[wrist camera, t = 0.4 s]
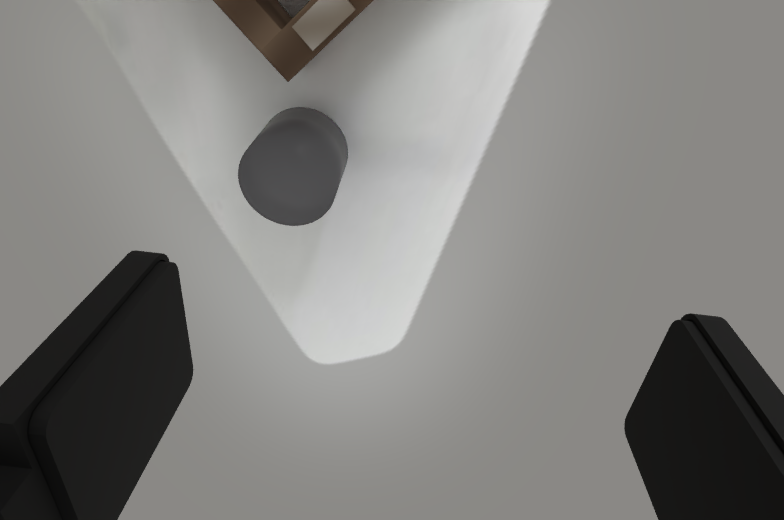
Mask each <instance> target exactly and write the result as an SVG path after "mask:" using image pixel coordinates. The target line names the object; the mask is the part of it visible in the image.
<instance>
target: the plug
mask: <svg viewBox="0 0 784 520" xmlns="http://www.w3.org/2000/svg"><path fill="white" fill-rule="evenodd" d="M347 159H348V148H347V143H346V140H345V137H344V135H343V133H342V131H341V130H340V128H339V127H338V126H337V124H336V123H335V122H334V121H333V120H332V119H330V118H329V117H328V116H326V115H325V114H323V113H321V112H319V111H317V110H314V109H310V108H304V107H296V108H290V109H286V110H284V111H282V112H280V113H278V114H277V115H275V116H274V117H273V118H272V119H271V120H270V121H269V123H268V124H267V125H266V126H265V128H264V129H263V130H262V131H261V133H260V134H259V135H258V136H257V138H256V139H255V140H254V141H253V143H252V144H251V145H250V146H249V148H248V149H247V150H246V152H245V153H244V155H243V156H242V159H241V161H240V164H239V170H238V179H239V184H240V188H241V190H242V193H243V195H244V197H245V198H246V200H247V201H248V203H249V204H250V205H251V206H252V207H253V208H254V209H255V210H256V211H257V212H258V213H259V214H261V215H262V216H264V217H265V218H267V219H269V220H271V221H273V222H276V223H279V224H283V225H290V226H298V225H305V224H309V223H312V222H314V221H316V220H318V219H319V218H321V217H322V216H323V215H324V214H325V213H326V212H327V211H328V210H329V209H330V207H331V205H332V203H333V201H334V198H335V196H336V193H337V190H338V187H339V184H340V181H341V178H342V175H343V172H344V170H345V167H346V163H347Z"/></svg>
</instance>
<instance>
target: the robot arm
mask: <svg viewBox="0 0 784 520" xmlns="http://www.w3.org/2000/svg"><path fill="white" fill-rule="evenodd" d="M192 376H193V364H192V357H191V350H190V344H189V337H188V330H187V324H186V317H185V311H184V304H183V298H182V292H181V285H180V278H179V271H178V267H177V265H176V264H175V263H172V262H169V259H168V257H167V256H166V255H165V254H161V253H152V252H144V251H131V252H130V253H128V254H127V256H126V257H125V258H124V259H123V260H122V261H121V262H120V263H119V264H118V265H117V266H116V267H115V268H114V269H113V270H112V271H111V272H110V273H109V274H108V275H107V276H106V277H105V278H104V279H103V280H102V281H101V282H100V283H99V285H98V286H97V287H96V288H95V289H94V290H93V291H92V292H91V293H90V294H89V295H88V296H87V297H86V298H85V299H84V300H83V301H82V302H81V303H80V304H79V305H78V306H77V307H76V308H75V309H74V311H73V312H72V313H71V314H70V315H69V316H68V317H67V318H66V319H65V320H64V321H63V322H62V323H61V324H60V325H59V326H58V327H57V328H56V329H55V330H54V331H53V332H52V333H51V334H50V335H49V336H48V338H47V339H46V340H45V341H44V342H43V343H42V344H41V345H40V346H39V347H38V348H37V349H36V350H35V351H34V352H33V353H32V354H31V355H30V356H29V357H28V358H27V359H26V360H25V361H24V363H22V365H21V366H20V367H19V368H18V369H17V370H16V371H15V372H14V373H13V374H12V375H11V376H10V377H9V378H8V379H7V380H6V381H5V382H4V383H3V384H2V385H1V386H0V520H117V519H118V517H119V515H120V514H121V512H122V510H123V508H124V506H125V504H126V502H127V501H128V499H129V497H130V495H131V493H132V491H133V490H134V488H135V486H136V484H137V482H138V480H139V478H140V477H141V475H142V473H143V471H144V469H145V467H146V466H147V464H148V462H149V460H150V458H151V456H152V454H153V452H154V451H155V449H156V447H157V445H158V443H159V441H160V439H161V438H162V436H163V434H164V432H165V430H166V429H167V427H168V425H169V423H170V421H171V419H172V417H173V416H174V414H175V411H176V410H177V408H178V406H179V404H180V403H181V401H182V399H183V397H184V395H185V393H186V392H187V390H188V388H189V386H190V383H191V380H192ZM625 434H626V438H627V440H628V443H629V446H630V448H631V451H632V453H633V456H634V458H635V461H636V463H637V466H638V469H639V471H640V474H641V476H642V479H643V481H644V484H645V486H646V489H647V491H648V494H649V497H650V499H651V502H652V504H653V507H654V509H655V512H656V515H657V517H658V519H659V520H784V395H783V394H782V392H781V391H780V390H779V389H778V387H777V386H776V385H775V383H774V382H773V381H772V380H771V378H770V377H769V376H768V374H767V373H766V372H765V371H764V369H763V368H762V366H760V364H759V363H758V361H757V360H756V359H755V358H754V356H753V355H752V354H751V352H750V351H749V350H748V348H747V347H746V346H745V345H744V343H743V342H742V341H741V339H740V338H739V337H738V335H737V334H736V333H735V332H734V330H733V329H732V328H731V326H730V325H729V324H728V323H727V321H726V320H724V319H723V318H721V317H716V316H707V315H698V314H686V315H685V316H683V317H682V318H681V320H676V321H674V322H673V323H672V324H671V326H670V328H669V330H668V332H667V334H666V336H665V338H664V340H663V342H662V344H661V346H660V348H659V350H658V352H657V354H656V357H655V359H654V361H653V363H652V365H651V367H650V369H649V371H648V373H647V375H646V377H645V379H644V381H643V383H642V385H641V387H640V389H639V391H638V393H637V396H636V397H635V400H634V402H633V404H632V406H631V408H630V410H629V412H628V414H627V416H626V419H625Z"/></svg>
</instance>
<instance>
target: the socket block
mask: <svg viewBox="0 0 784 520" xmlns="http://www.w3.org/2000/svg"><path fill="white" fill-rule="evenodd" d="M213 1H214V2H215V3H216V4H217V5H218V6H219V7H220V8H221V9H222V11H223V12H224V13H225V14H226V15H227V16H228V17H229V18H230V19H231V20H232V21H233V23H234V24H235V25H236V26H237V27H238V28H239V29H240V30H241V31H242V32H243V34H244V35H245V36H246V37H247V38H248V39H249V40H250V41H251V42H252V43H253V44H254V46H255V47H256V48H257V49H258V50H259V51H260V52H261V53H262V54H263V55H264V56H265V58H266V59H267V60H268V61H269V62H270V63H271V64H272V65H273V66H274V67H275V68H276V70H277V71H278V72H279V73H280V74H281V75H282V76H283V77H284V78H285V79H286V80H287V82H289V81H290V80H291V79H292V78H293V77H294V76H295V75H296V74H297V73H298V72H299V71H300V70H301V69H302V68H303V67H304V66H305V65H306V64H307V63H308V62H309V61H310V60H312V59H313V58H314V57H315V56H316V55H317V54H318V53H319V52H320V51H321V50H322V49H323V48H324V47H325V46H326V45H327V44H328V43H329V42H330V41H331V40H332V39H333V38H334V37H336V36H337V35H338V34H339V33H340V32H341V31H342V30H343V29H344V28H345V27H346V26H347V25H348V24H349V23H350V22H351V21H352V20H353V19H354V18H355V17H356V16H357V15H359V14H360V13H361V12H362V11H363V10H364V9H365V8H366V7H367V6H368V5H369V4H370V3H371V2H372V1H373V0H310V1H309V2H308V3H307V4H306V5H305V6H304V7H303V8H302V9H301V10H300V11H299V12H298V13H297V14H296V15H295V16H294V17H293V18H292V17H291V16H290V15H289V14H288V13H287V12H286V10H285V9H284V8H283V7H282V6H281V5H280V3H279V2H278V1H277V0H213Z"/></svg>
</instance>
